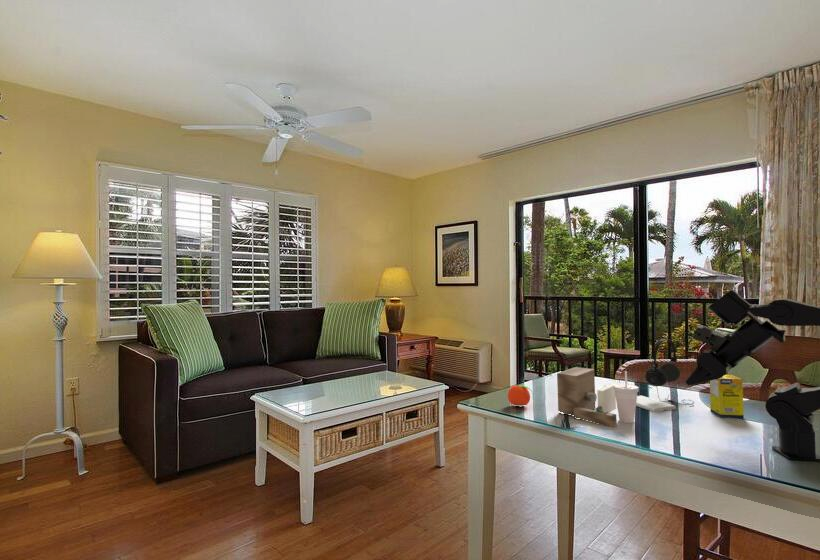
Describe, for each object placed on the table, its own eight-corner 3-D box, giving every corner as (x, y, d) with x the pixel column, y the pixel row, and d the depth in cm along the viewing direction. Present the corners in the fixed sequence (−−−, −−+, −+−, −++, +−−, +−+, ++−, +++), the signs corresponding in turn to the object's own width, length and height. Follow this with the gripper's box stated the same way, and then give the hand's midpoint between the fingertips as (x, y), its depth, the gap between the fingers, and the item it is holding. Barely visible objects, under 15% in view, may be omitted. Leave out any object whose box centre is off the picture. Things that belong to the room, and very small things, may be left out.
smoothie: (616, 423, 118) (614, 372, 118) (612, 416, 124) (610, 368, 124) (642, 425, 116) (640, 373, 116) (636, 418, 122) (635, 368, 122)
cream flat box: (615, 408, 126) (615, 385, 126) (599, 418, 118) (599, 392, 118) (610, 407, 127) (609, 384, 127) (594, 417, 119) (593, 391, 119)
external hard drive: (642, 400, 141) (676, 410, 129) (622, 402, 139) (654, 413, 127) (642, 395, 141) (676, 405, 129) (622, 397, 139) (654, 408, 127)
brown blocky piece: (631, 415, 124) (630, 373, 125) (613, 427, 115) (612, 382, 115) (576, 404, 136) (575, 367, 136) (555, 414, 127) (554, 374, 127)
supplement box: (744, 418, 119) (743, 378, 119) (720, 417, 121) (719, 378, 121) (733, 411, 125) (731, 374, 125) (710, 411, 126) (708, 374, 126)
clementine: (536, 405, 137) (535, 383, 137) (530, 411, 131) (529, 388, 131) (511, 402, 141) (511, 381, 141) (505, 408, 135) (504, 385, 135)
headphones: (681, 411, 127) (679, 343, 127) (642, 403, 136) (640, 340, 136) (702, 402, 135) (700, 338, 136) (664, 395, 145) (662, 335, 145)
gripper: (723, 312, 111) (676, 350, 119) (706, 317, 98) (654, 360, 106) (763, 345, 105) (711, 383, 113) (751, 355, 92) (692, 398, 100)
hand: (692, 380), depth 108 cm, fingers open, 9 cm apart
